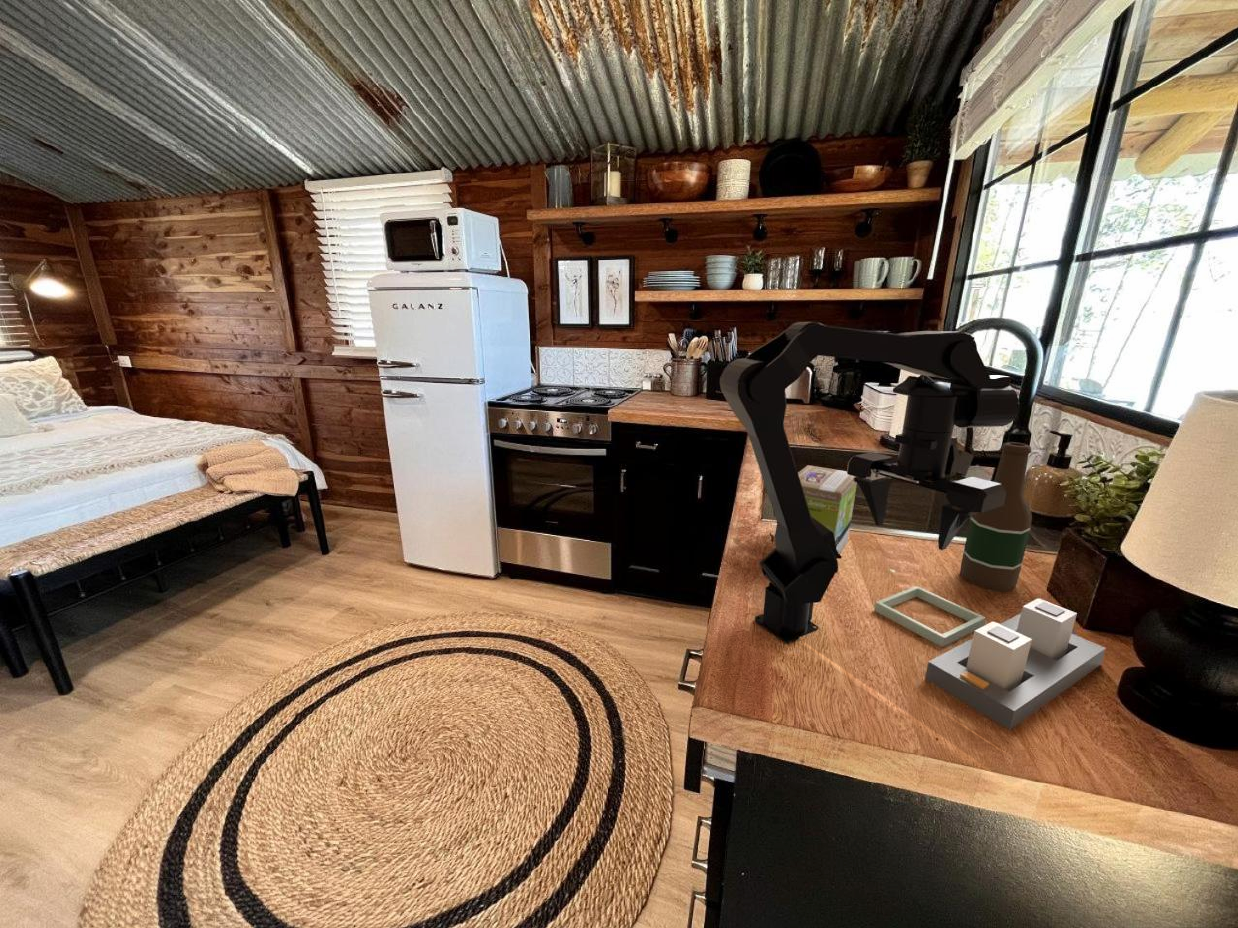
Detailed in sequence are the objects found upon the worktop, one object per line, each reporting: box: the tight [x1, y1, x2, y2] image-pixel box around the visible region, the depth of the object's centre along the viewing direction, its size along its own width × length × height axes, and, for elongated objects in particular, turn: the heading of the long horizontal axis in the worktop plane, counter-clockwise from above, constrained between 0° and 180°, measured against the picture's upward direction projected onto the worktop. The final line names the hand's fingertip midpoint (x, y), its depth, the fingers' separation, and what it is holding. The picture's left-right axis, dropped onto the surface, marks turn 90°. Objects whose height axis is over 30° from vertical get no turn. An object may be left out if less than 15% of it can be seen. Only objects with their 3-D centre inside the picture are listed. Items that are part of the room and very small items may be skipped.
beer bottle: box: [959, 441, 1033, 592], centre depth 80 cm, size 8×8×24 cm
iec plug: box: [966, 620, 1032, 691], centre depth 58 cm, size 4×4×7 cm
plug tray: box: [873, 585, 987, 648], centre depth 73 cm, size 10×10×2 cm
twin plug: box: [1017, 597, 1078, 660], centre depth 63 cm, size 4×4×7 cm
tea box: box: [797, 464, 858, 555], centre depth 94 cm, size 15×10×15 cm
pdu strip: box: [924, 612, 1107, 731], centre depth 62 cm, size 25×9×3 cm, turn 118°
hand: (909, 536), depth 70 cm, fingers open, 9 cm apart
